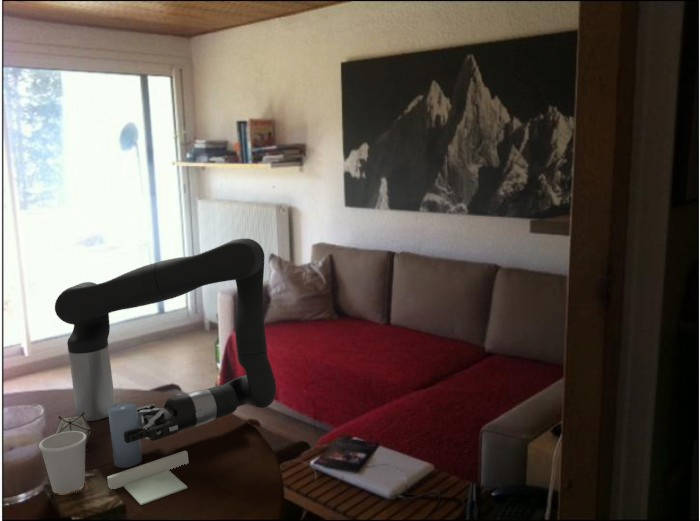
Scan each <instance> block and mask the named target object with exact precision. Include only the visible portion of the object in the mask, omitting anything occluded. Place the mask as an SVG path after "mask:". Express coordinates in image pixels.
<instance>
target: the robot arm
mask: <svg viewBox="0 0 700 521" xmlns="http://www.w3.org/2000/svg"><path fill="white" fill-rule="evenodd" d="M265 257H266V256H265V251H264V249H263V247H262V246H261V245H260V243H259V242H257V241H256V240H254V239H252V238H239V239H238V238H237V239H233V240H230V241H227V242H225V243H224V244H221V245H219V246H216V247H214V248H212V249H209V250H207V251H204V252H200V253H198V254H194V255H190V256H181V257H175V258H169V259H164V260H160V261H158V262H154V263H150V264H147V265H143V266H141V267H137V268H135V269H133V270H130V271H128V272H125V273H123V274H121V275H119V276H117V277H114V278H112V279H110V280H107V281H104V282H101V283H96V282H92V281H84V282H81V283H79V284H76V285H73V286H71V287H68V288H66V289H65V290H63V291H62V292H61V293H60V294H59V295H58V296H57V298H56V300H55V304H54V311H55V315H56V316H57V317H58V319H60V320H61V321H62V322H64V323H66V324H68V325H73V330H72V332H71V334H70V336H69V338H68V339H67V350H68V351H67V352H68V360H69V366H70V367H69V368H70V373H71V382H72V390H73V397H74V405H75V406H74V407H75V412H76V413H75V414H76V416H80V415H82V413H83V412H84V415H83V417H84V419H85V420H86V422H90V421H91V422H92V421H100V420H103V419H106V418H109V414H108V408H109V407H110V406H112V405H114V404H116V400H115V398H116V397H115V391H114V381H113V373H112V367H111V365H112V364H111V357H110V349H109V335H110V330H111V328H110V314H111V313H115V312H118V311H122V310H129V309H134V308H139V307H145V306H149V305H152V304H157V303H161V302H165V301H168V300H172V299H175V298H177V297H181V296H183V295H185V294H188V293H190V292H193V291H194V290H196V289H198V288H201V287H204V286H207V285H213V284H217V283H218V284H219V283H222V282H229V281H235V285H236V290H237V308H236V319H235V344H236V356H237V360H238V361H237V362H238V364H239V365H240V366H241V367H242V368H243V369H244V371H245V375H240V376H239V377H235V378H233V379H232V380H229V381H228V382H226V383H224V384H220V385H215V386H213V387H209V388H205V389H201V390H200V389H199V390H194V391H191V392H187V393H183V394H180V395H176V396H173V397H170V398H167V399H166V401H165V404H164V406H163V407H156V405H155V404H154V403H151V404H147V405H143V406H139V407H137V414H138V423H139V428H137V429H133V430H130V431H127V432H125V433H124V441H125V442H126V443H130V442H133V441H136V440H140V441H141V440H143V439H145V440H149V439H150V442H151V441H152V442H153V441H158V440H161V439H164V438H167V437H169V436H172V435H175V434H177V433H179V432H182V431H186V430H188V429H192V428H195V427H199V426H201V425H204V424H207V423H209V422H212V421H213V420H217V419H221V418H224V417H226V416H229V415H232V414H233V413H235V411H237V409H238V407H239V408H240V406H244V405H249V406H252V407H255V408H259V409H261V408H262V409H263V408H268V407H269V406H270V405H271V404H273V402H274V401H275V397H276V396H277V395H276V394H277V384H276V378H275V376H274V372H273V369H272V365H271V363H270V360H269V357H268V346H267V337H266V327H265V315H264V274H265V273H264V272H265Z"/></svg>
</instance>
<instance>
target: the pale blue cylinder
mask: <svg viewBox="0 0 700 521" xmlns="http://www.w3.org/2000/svg"><path fill="white" fill-rule="evenodd" d="M137 408H138V407H137V403H136V402H134V401H122V402H118V403H115V404H114V405H112V406H110V407H109V408H108V414H109V417H108V421H109V430H110V437H111V446H112V454H113V455H112V456H113V462H114V466H115V467H117V468H121V469H126V468H131V467H133V466H137V465H139V464H140V463H141V462H142V461H143V458H144V457H143V451H142V443H141V439H140V440H136V441H133V442H130V443H126V442H125V441H124V433H125V432H127V431H130V430H133V429H137V428H140V427H139V423H138V414H137Z"/></svg>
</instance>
